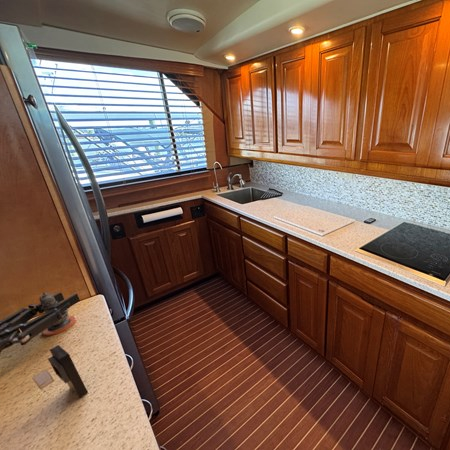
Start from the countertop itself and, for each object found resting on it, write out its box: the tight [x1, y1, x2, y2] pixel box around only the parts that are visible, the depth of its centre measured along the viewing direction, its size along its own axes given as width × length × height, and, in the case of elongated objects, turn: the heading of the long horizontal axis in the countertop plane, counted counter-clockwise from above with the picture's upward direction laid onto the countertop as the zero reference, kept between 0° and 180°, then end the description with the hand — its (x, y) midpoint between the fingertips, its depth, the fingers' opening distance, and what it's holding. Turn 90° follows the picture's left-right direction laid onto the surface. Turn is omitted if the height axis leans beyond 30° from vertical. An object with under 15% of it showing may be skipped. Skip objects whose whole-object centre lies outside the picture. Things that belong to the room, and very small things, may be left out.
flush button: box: [32, 369, 55, 391], centre depth 49 cm, size 2×3×3 cm, turn 62°
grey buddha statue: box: [38, 291, 71, 331], centre depth 71 cm, size 6×6×12 cm
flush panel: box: [47, 344, 89, 399], centre depth 52 cm, size 2×5×12 cm, turn 62°
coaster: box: [41, 315, 78, 337], centre depth 73 cm, size 8×8×1 cm
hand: (69, 296), depth 76 cm, fingers open, 5 cm apart
